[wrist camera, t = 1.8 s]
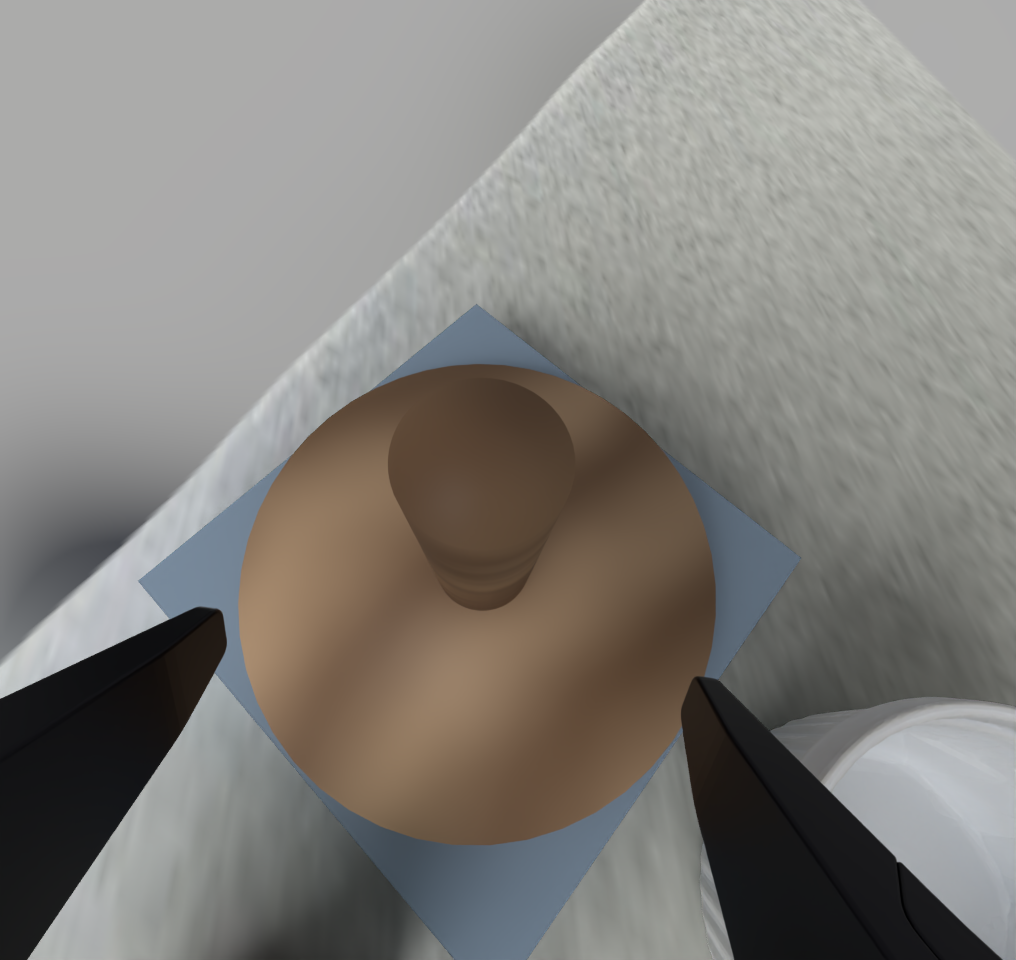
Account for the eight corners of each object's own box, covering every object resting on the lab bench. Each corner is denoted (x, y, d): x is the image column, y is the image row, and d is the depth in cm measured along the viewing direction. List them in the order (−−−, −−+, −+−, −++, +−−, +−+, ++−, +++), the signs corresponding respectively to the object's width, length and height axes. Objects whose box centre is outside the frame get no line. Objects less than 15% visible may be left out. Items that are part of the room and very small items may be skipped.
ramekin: (742, 625, 20) (864, 605, 14) (1064, 811, 18) (1380, 889, 12) (602, 984, 16) (684, 1201, 9) (1006, 1279, 14) (1460, 1808, 7)
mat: (759, 572, 21) (801, 558, 18) (492, 947, 16) (494, 1007, 13) (477, 345, 25) (476, 304, 22) (187, 593, 20) (137, 581, 17)
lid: (783, 558, 18) (1095, 444, 9) (493, 973, 13) (513, 1654, 4) (476, 317, 22) (471, 52, 12) (159, 580, 17) (-239, 473, 8)
